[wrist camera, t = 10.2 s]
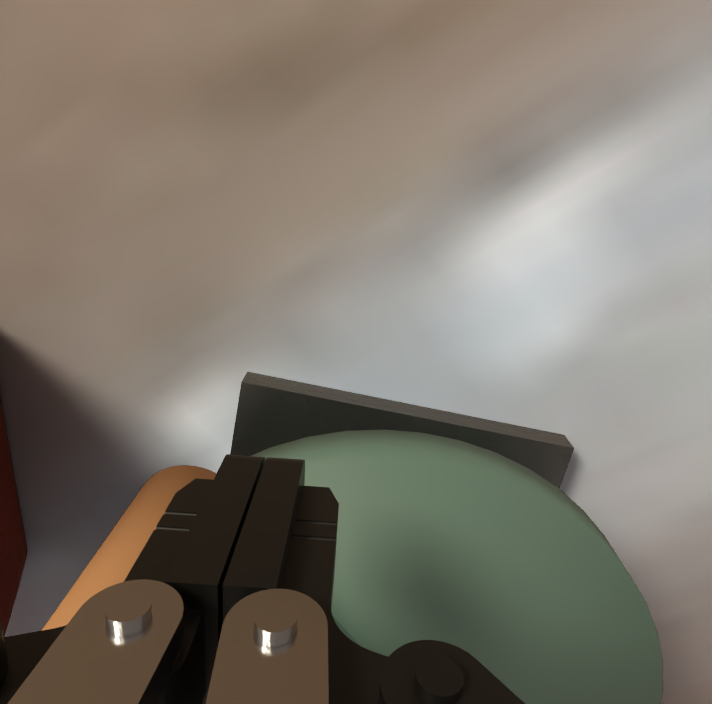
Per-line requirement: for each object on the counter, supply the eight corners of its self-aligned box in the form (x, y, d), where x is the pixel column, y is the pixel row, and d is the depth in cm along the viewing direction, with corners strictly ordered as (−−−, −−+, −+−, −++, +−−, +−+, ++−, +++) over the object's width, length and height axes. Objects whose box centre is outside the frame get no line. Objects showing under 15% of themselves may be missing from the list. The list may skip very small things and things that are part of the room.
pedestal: (478, 677, 29) (509, 820, 23) (206, 629, 28) (160, 762, 22) (564, 435, 25) (632, 527, 18) (247, 371, 24) (205, 445, 18)
